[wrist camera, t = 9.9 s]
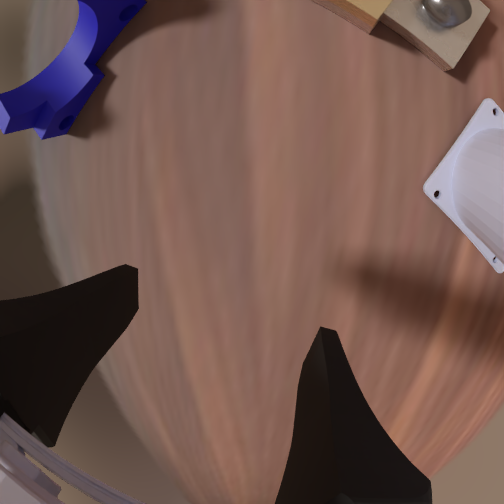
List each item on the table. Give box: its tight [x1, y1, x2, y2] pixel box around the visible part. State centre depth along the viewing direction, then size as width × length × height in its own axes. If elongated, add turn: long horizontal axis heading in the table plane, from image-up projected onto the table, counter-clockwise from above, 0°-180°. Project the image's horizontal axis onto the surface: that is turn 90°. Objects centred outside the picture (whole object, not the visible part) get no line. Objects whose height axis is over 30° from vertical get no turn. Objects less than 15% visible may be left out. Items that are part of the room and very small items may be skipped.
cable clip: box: [0, 0, 147, 140], centre depth 14 cm, size 12×4×6 cm, turn 132°
